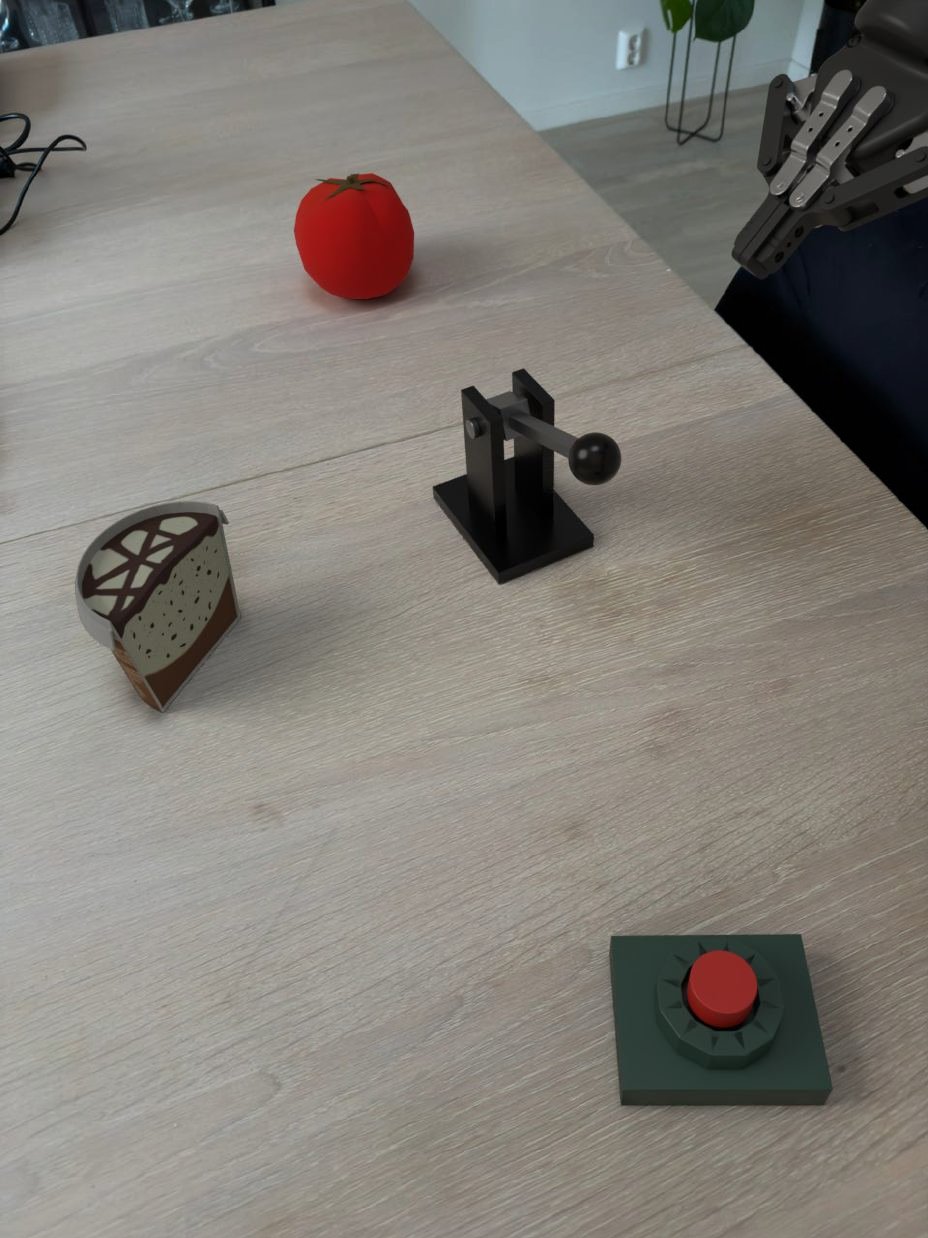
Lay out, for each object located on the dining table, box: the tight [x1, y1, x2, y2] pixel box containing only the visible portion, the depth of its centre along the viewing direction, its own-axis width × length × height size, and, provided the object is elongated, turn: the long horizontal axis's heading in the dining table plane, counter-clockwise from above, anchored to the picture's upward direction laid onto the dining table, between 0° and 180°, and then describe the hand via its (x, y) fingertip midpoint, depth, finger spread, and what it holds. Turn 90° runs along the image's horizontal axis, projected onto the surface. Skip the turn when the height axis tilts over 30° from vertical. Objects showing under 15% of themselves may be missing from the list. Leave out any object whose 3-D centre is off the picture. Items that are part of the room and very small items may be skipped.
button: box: [687, 951, 757, 1028], centre depth 54 cm, size 3×3×2 cm
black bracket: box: [432, 367, 595, 585], centre depth 79 cm, size 11×8×12 cm
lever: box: [485, 390, 622, 487], centre depth 71 cm, size 15×3×3 cm, turn 27°
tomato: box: [293, 172, 415, 300], centre depth 104 cm, size 12×12×11 cm
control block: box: [608, 933, 834, 1106], centre depth 55 cm, size 10×8×4 cm
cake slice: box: [74, 500, 242, 714], centre depth 73 cm, size 12×6×10 cm, turn 154°
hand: (746, 267), depth 62 cm, fingers closed
